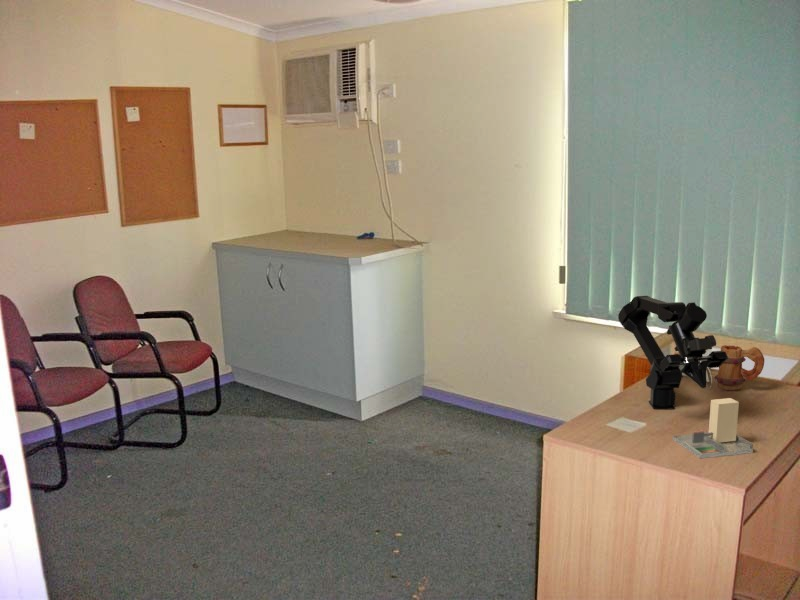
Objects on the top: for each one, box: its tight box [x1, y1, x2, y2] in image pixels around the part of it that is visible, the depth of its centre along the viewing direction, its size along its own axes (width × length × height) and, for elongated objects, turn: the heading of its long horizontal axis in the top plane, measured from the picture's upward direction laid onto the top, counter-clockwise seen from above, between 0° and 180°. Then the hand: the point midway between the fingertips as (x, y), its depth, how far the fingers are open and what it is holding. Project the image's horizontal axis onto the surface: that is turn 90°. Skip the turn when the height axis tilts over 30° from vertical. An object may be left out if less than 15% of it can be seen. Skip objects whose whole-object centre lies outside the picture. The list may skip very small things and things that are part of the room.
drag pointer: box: [692, 430, 705, 443], centre depth 200 cm, size 1×3×3 cm, turn 101°
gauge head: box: [704, 397, 740, 442], centre depth 202 cm, size 4×11×11 cm, turn 101°
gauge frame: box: [672, 429, 754, 459], centre depth 202 cm, size 13×16×2 cm
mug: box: [714, 344, 765, 391], centre depth 245 cm, size 15×8×15 cm, turn 55°
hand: (704, 387), depth 210 cm, fingers closed
